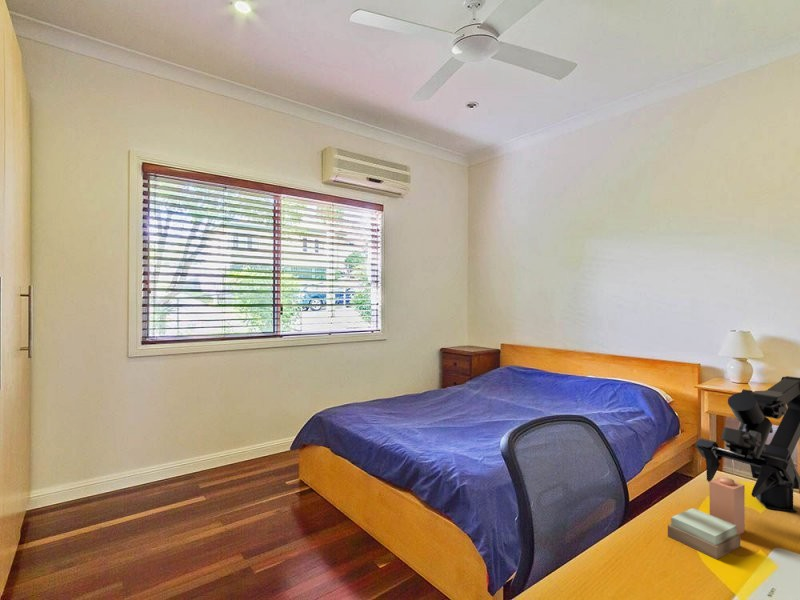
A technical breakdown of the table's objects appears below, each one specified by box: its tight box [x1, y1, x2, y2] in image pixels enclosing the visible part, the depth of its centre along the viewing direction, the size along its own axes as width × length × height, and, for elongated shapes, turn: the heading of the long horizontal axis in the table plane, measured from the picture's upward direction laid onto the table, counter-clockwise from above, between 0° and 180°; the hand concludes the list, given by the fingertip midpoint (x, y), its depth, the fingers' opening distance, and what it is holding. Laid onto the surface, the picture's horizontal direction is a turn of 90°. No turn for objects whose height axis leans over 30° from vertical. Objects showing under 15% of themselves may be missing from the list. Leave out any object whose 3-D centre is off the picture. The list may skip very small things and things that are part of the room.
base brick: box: [667, 507, 742, 560], centre depth 95 cm, size 10×10×4 cm
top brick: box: [708, 476, 746, 535], centre depth 100 cm, size 5×5×12 cm
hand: (729, 488), depth 101 cm, fingers open, 9 cm apart
